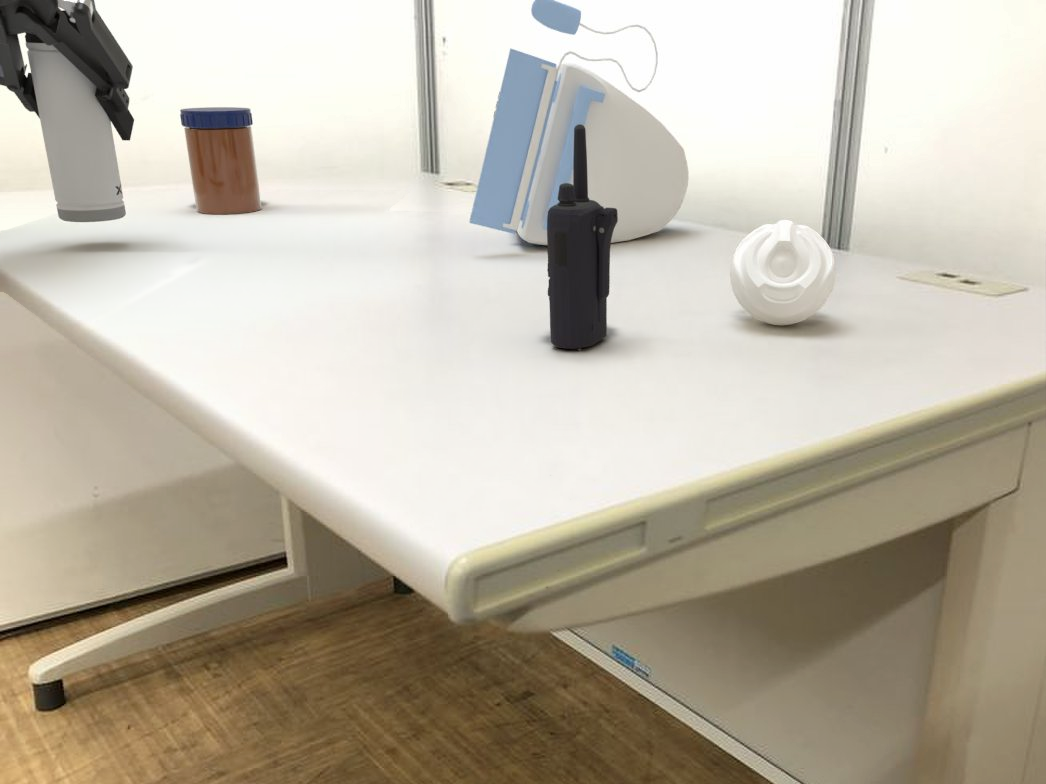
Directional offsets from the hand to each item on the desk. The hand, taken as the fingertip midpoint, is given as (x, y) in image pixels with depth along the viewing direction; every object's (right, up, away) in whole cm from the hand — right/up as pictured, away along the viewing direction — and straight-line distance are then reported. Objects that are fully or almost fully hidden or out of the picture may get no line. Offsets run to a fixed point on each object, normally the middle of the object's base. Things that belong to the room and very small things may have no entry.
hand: (94, 129), depth 109 cm
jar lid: (+4, +9, +21) cm, 23 cm away
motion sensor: (+67, -24, -27) cm, 76 cm away
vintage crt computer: (+49, -9, +9) cm, 51 cm away
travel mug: (0, -9, 0) cm, 9 cm away
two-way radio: (+53, -27, -33) cm, 68 cm away
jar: (+4, -2, +25) cm, 26 cm away
